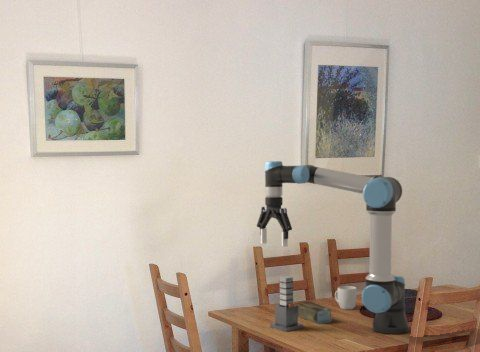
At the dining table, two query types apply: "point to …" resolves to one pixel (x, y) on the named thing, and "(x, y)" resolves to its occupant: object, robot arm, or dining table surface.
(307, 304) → the beverage carton
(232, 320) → the dining table surface
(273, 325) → the stand
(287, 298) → the column
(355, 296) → the mug
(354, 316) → the dining table surface
